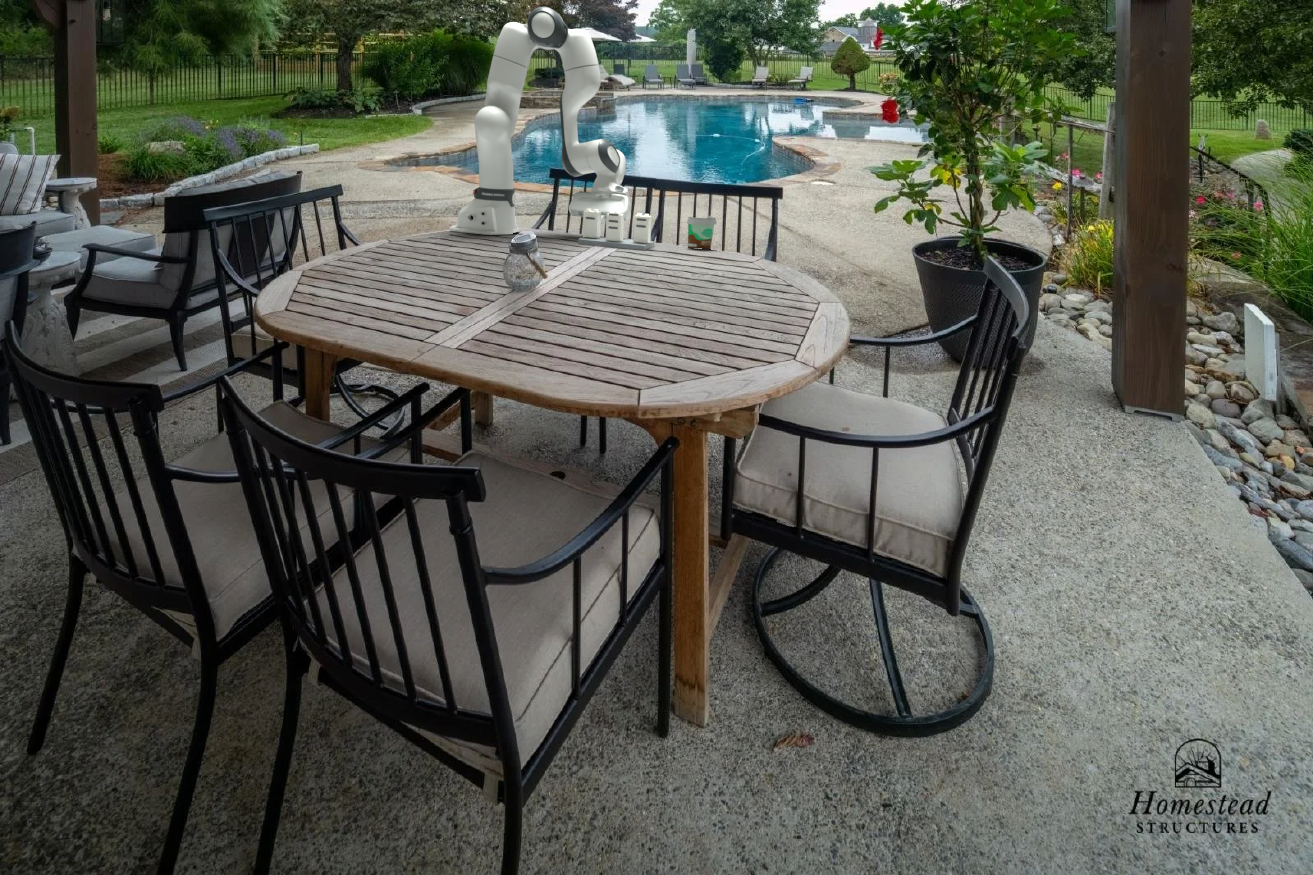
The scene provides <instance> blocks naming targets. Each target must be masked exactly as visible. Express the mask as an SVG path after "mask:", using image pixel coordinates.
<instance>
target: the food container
mask: <svg viewBox="0 0 1313 875" xmlns="http://www.w3.org/2000/svg"><path fill="white" fill-rule="evenodd" d="M686 223H687V224H688V225H687V249H688V248H692V249H691V250H695V249H694V248H702V249H708V250H711V248H712V242H713V235H714V229H715V225H717V219H716V217H715V216H713V215H707V217H693V216H692V217H691V216H688V217H687V222H686Z"/></svg>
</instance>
